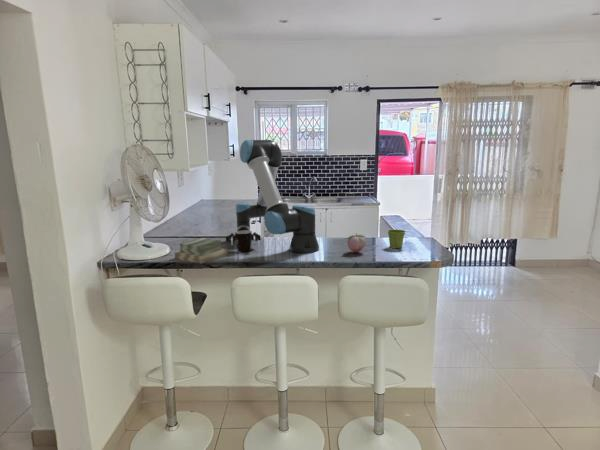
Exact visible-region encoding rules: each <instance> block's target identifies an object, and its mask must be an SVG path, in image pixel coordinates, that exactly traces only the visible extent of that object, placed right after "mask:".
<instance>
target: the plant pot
mask: <svg viewBox="0 0 600 450" xmlns="http://www.w3.org/2000/svg"><path fill="white" fill-rule="evenodd" d="M406 232H407V231H406V230H404V229H398V228H397V229H394V228H393V229H387V234H388V240H389V248H392V249H402V248H403V243H404V238H405V235H406Z"/></svg>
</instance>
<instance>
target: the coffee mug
mask: <svg viewBox="0 0 600 450" xmlns="http://www.w3.org/2000/svg"><path fill="white" fill-rule="evenodd" d="M234 233H235V234H234V235H236V240H235V241H236V244H237V245H236V247H237V252H239V253H247V252H250V251H252V250H251V247H252V240H251V236H252V234H253V233H252V231H251V230H250V231H249V230H242V231H237V230H236V231H235V232H234Z"/></svg>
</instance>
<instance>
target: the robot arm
mask: <svg viewBox="0 0 600 450" xmlns="http://www.w3.org/2000/svg"><path fill="white" fill-rule="evenodd" d="M281 150H282V149H281V148H280V145H278V144H277V142H275V141H274V140H272V139H245V140H244V141H243V142H242V143H241V145H240V149H239V158H240V161H241V162H242V163H244V164H246V165H247V167H248V168H249V169H251V170H252V171H253V174H254V176H255V177H254V178H255V180H256V182H257V185H258V187H259V191H258V196H257V201H256V204H252V205H251V204H250V203H248V202H238V203H237V204H236V206H235V214H236V215H235V216H236V231H242V230H249V231H251V220H250V219H255V218H263V220H264V221H263V222H264V226H265V228H266V230H267V231H268V232H269V233H270V234H272V235H283V234H289V233H292V238H291V242H290V245H289V251H291V252H292V253H296V254H297V253H299V254H300V253H301V254H308V253H310V254H311V253H314V252H318V251H319V249H320V245H319V242H318V239H317V236H316V209H315V208H314V207H313V206H308V205H299V204H297V205H296V204H294V205H292V207H291V208H289V206H288V203H286V202H283V198H282V197H281V194H280V190H279V188H278V186H277V183H276V181H277V180H276V179H277V175H278V171H279V168H281V166H282V161H283V154H282V151H281ZM261 239H262V238H261V234H259V233H257V232H256V231H255V232H253V233H252V236H251V241H253V245H256V242H258V241H261ZM234 241H236V235H235V234H234V233H232V232H231V233H230V234H228V235H227V236H226V237H225V242H227V243H228V242H229V244H230V245H231V246H233V245H234Z"/></svg>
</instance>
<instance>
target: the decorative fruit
mask: <svg viewBox="0 0 600 450" xmlns="http://www.w3.org/2000/svg"><path fill="white" fill-rule="evenodd" d="M365 238H366V236H365V235H364V234H357V233H355V235H350V236H348V237H347V242H346V243H347V247H348V249H349V250H350V251H351V252H354V253H355V254H358V253H360V252H361V251H362V250H364V249H365V247H366V245H367V242H366V239H365Z"/></svg>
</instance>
